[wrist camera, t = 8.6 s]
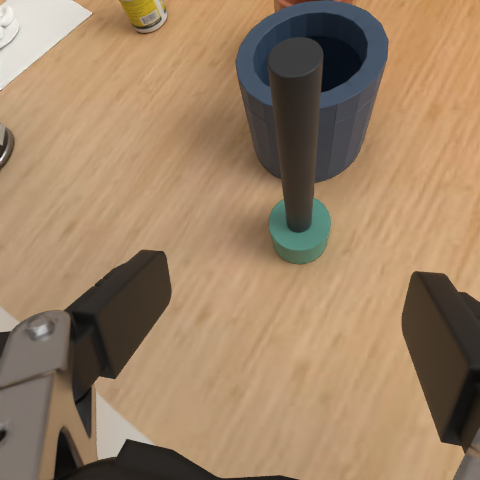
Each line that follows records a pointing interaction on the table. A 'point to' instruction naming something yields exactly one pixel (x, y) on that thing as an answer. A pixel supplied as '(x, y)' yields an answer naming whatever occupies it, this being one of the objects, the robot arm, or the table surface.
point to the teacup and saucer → (5, 15)
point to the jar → (333, 79)
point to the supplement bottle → (145, 14)
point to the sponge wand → (297, 149)
